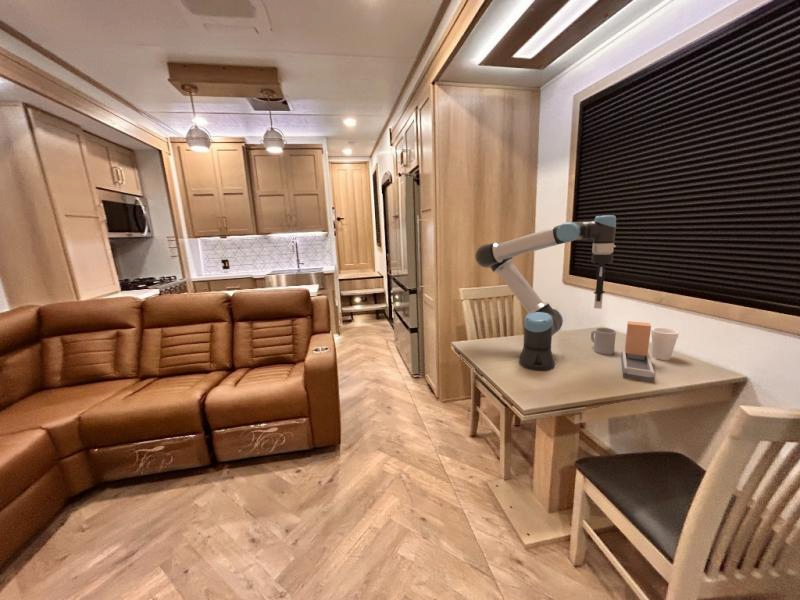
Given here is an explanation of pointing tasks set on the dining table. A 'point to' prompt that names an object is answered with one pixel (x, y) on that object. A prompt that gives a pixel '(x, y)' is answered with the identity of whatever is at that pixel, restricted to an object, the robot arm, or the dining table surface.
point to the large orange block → (637, 340)
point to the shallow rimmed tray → (637, 368)
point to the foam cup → (663, 342)
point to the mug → (604, 340)
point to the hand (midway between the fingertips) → (597, 308)
